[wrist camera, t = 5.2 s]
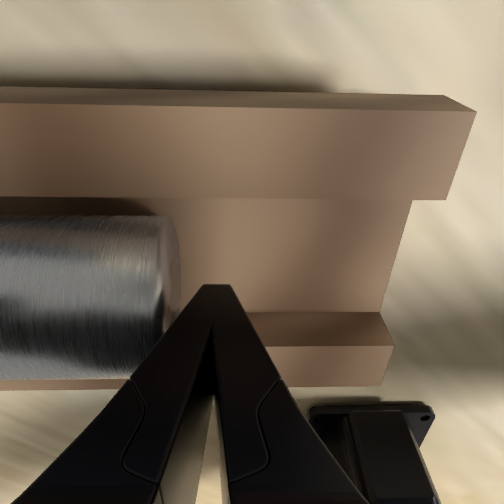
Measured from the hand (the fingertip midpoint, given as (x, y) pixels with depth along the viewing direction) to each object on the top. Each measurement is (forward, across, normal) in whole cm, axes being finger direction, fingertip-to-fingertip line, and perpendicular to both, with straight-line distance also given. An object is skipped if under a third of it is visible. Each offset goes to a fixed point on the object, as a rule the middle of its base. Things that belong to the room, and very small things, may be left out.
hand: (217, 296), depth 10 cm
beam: (+4, +3, 0) cm, 5 cm away
